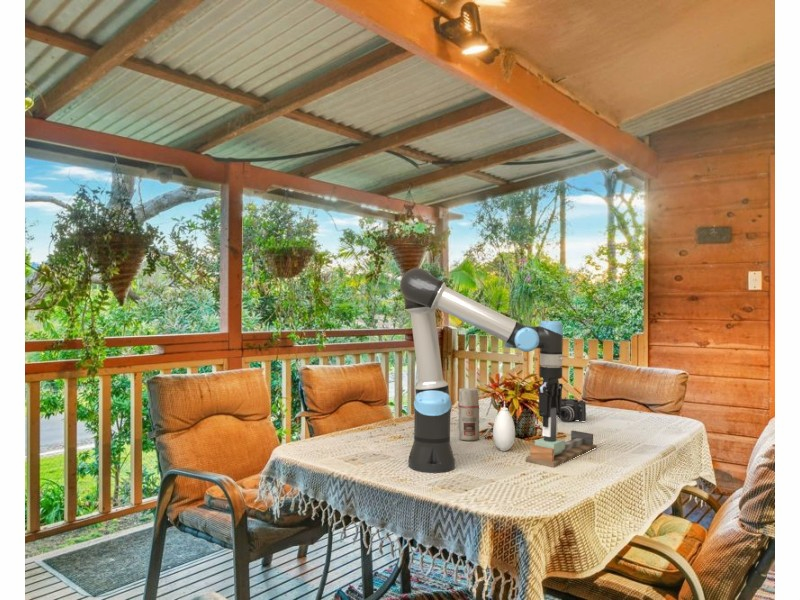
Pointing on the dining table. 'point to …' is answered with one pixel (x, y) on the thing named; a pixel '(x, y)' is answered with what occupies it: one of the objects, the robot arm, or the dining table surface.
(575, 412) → the camera
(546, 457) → the rail bed
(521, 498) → the dining table surface
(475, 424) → the spray can
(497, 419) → the white air blower bulb
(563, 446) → the green base with post
